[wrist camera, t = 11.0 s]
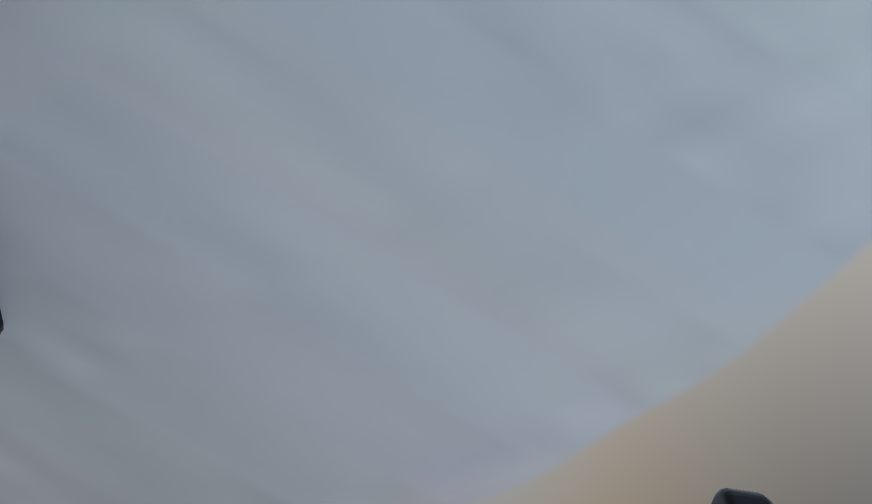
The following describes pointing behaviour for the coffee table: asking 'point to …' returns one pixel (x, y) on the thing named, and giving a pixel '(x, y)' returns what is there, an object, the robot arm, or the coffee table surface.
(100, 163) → the coffee table surface
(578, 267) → the coffee table surface
